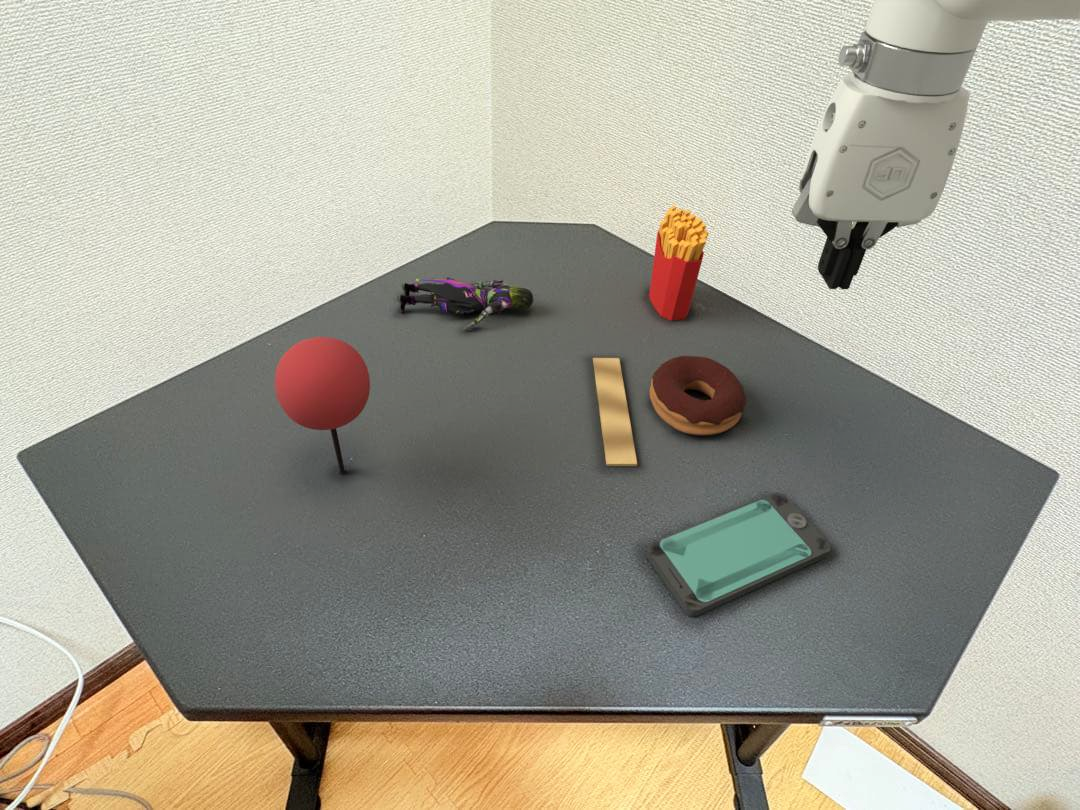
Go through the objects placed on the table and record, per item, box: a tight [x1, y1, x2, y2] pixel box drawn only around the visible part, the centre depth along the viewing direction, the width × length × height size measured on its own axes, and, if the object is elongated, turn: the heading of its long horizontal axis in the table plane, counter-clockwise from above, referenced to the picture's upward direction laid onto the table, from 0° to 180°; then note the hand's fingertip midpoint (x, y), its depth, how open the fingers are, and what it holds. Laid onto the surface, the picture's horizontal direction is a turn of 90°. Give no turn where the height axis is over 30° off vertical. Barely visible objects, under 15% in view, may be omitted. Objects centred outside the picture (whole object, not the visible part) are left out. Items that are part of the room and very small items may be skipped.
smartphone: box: [645, 492, 831, 618], centre depth 63 cm, size 7×1×15 cm
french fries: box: [648, 204, 709, 322], centre depth 86 cm, size 8×4×12 cm, turn 15°
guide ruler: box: [592, 357, 638, 467], centre depth 76 cm, size 16×3×1 cm, turn 2°
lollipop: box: [274, 336, 371, 476], centre depth 64 cm, size 8×8×15 cm
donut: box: [649, 355, 747, 436], centre depth 76 cm, size 10×10×4 cm
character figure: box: [397, 276, 534, 331], centre depth 87 cm, size 9×4×16 cm
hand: (833, 280), depth 65 cm, fingers closed
